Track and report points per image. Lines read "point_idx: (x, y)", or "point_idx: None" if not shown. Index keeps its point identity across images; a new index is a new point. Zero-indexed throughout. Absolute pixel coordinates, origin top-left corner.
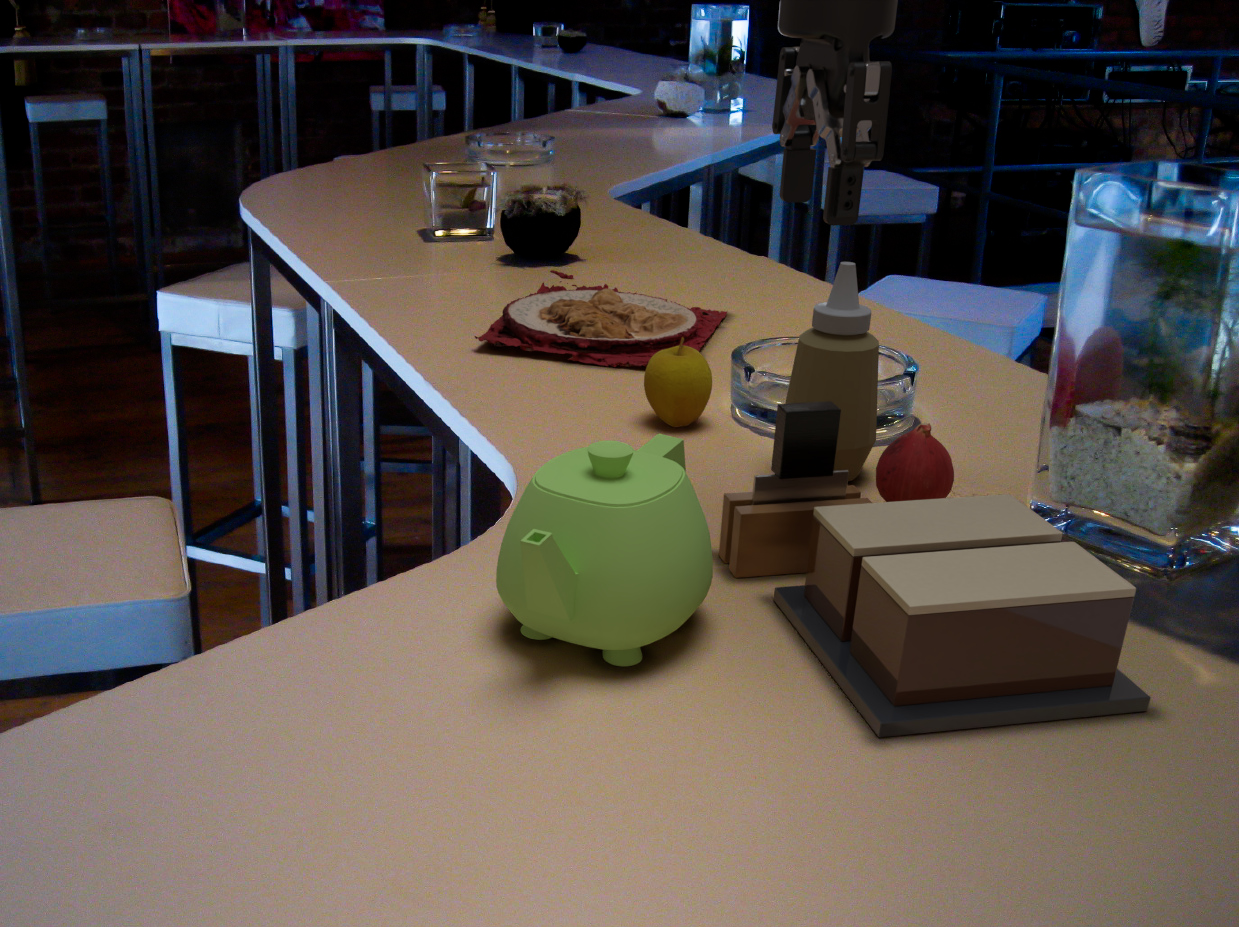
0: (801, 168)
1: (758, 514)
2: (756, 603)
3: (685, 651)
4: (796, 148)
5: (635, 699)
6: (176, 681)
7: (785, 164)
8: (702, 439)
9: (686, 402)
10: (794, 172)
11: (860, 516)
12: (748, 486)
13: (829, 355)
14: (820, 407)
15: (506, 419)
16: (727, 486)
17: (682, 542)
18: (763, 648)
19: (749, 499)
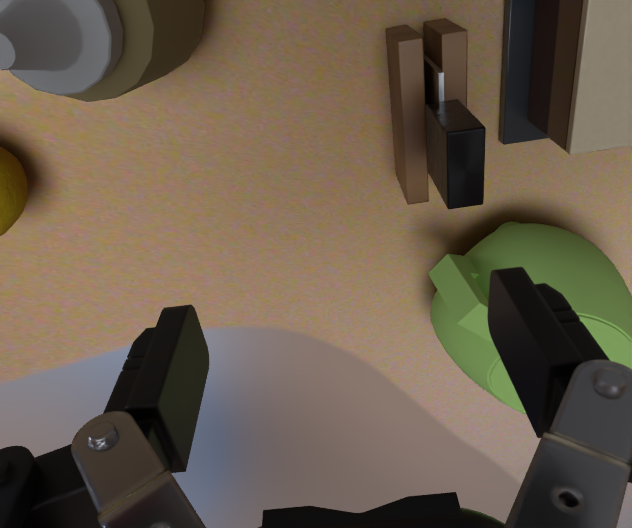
0: (181, 390)
1: None
2: (500, 156)
3: (567, 226)
4: (166, 453)
5: (622, 267)
6: (521, 475)
7: (192, 435)
8: (53, 141)
9: (20, 179)
10: (190, 397)
11: (612, 108)
12: (208, 110)
13: (153, 57)
14: (473, 155)
15: (47, 337)
16: (211, 136)
17: (622, 293)
18: (581, 165)
19: (427, 180)
